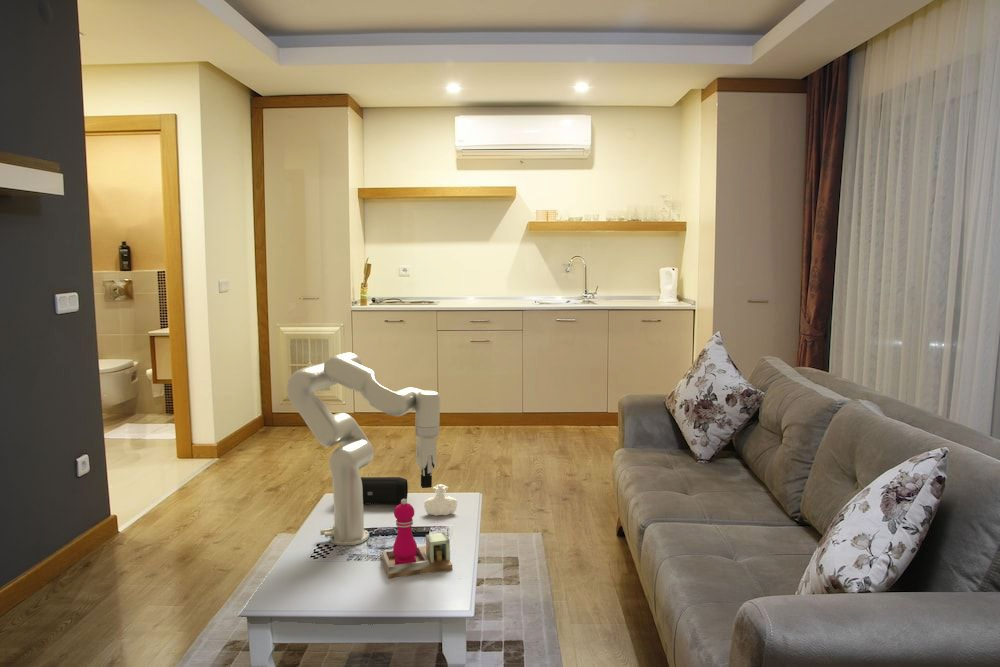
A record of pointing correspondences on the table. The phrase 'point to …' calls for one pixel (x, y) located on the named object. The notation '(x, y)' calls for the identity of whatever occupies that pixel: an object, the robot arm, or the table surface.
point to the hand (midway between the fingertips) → (426, 486)
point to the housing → (437, 540)
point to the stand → (415, 563)
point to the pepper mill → (404, 534)
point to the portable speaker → (384, 490)
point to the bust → (440, 502)
